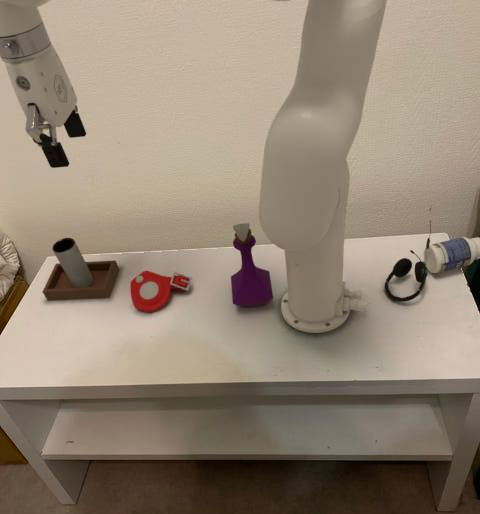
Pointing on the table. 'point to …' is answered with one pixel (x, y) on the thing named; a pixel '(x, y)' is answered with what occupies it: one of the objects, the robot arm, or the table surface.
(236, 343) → the table surface
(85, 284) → the gray hollow tube
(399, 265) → the headset
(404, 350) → the table surface
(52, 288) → the shelf tray
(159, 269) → the table surface
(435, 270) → the pill bottle
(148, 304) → the tracker holder
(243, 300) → the perfume bottle
